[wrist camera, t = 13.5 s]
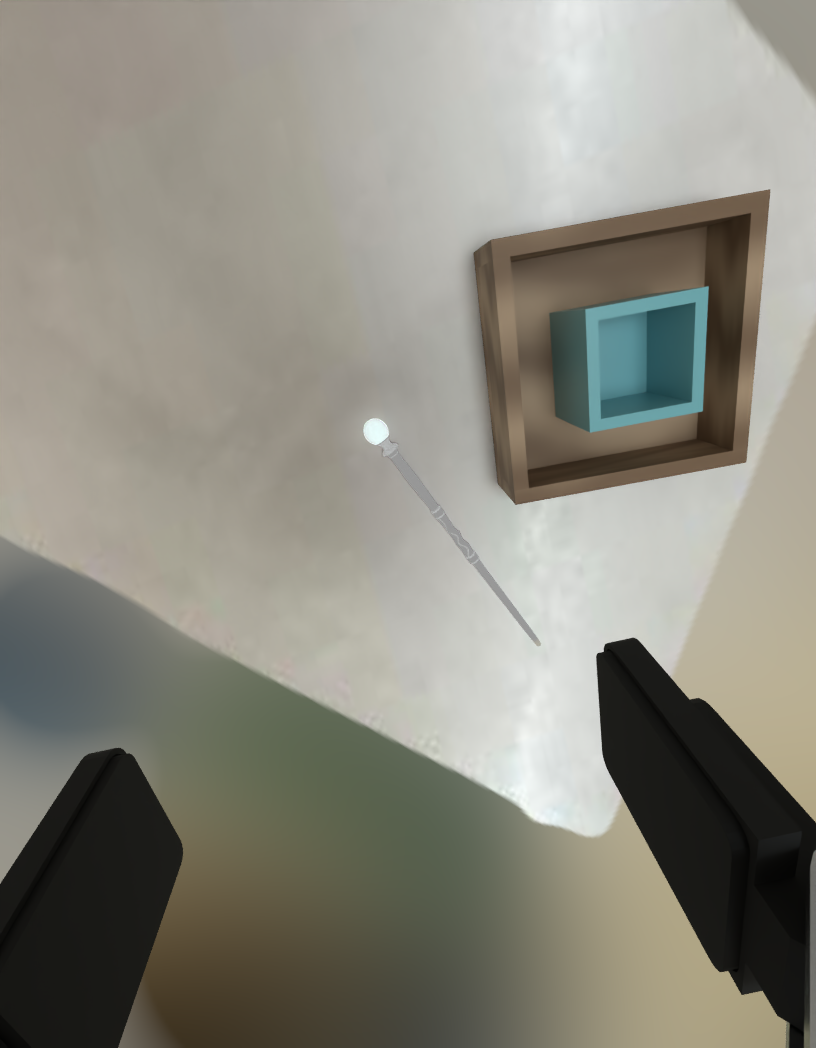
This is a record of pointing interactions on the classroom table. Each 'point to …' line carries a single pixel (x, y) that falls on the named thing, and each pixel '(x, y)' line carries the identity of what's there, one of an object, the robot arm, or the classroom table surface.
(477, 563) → the magic wand
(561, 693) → the classroom table surface
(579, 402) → the small crate
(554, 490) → the big crate
